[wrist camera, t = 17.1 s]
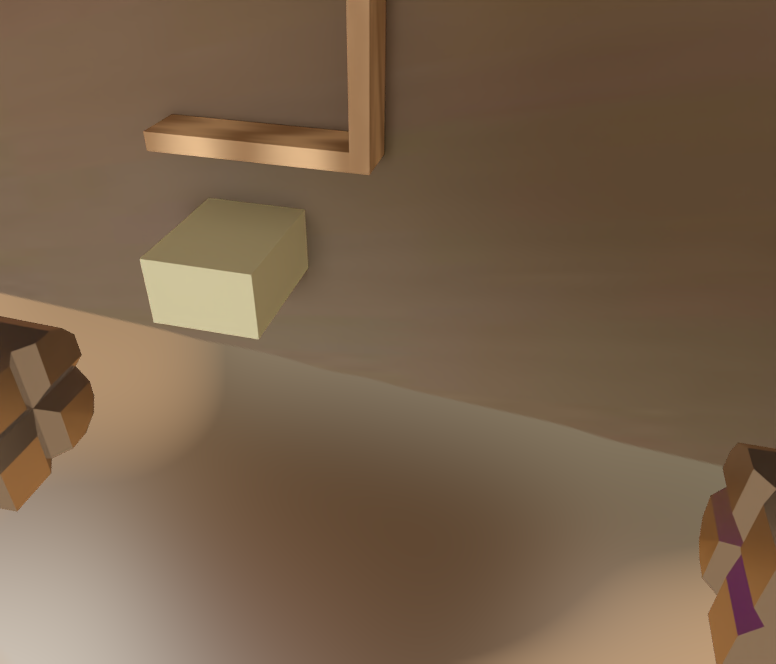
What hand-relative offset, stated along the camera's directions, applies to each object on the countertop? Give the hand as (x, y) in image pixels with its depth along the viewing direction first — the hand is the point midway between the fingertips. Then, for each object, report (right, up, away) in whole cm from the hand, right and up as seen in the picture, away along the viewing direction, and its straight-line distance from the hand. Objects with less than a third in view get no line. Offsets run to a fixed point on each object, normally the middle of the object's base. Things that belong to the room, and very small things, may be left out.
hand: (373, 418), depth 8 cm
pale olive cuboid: (-9, +8, +39) cm, 41 cm away
